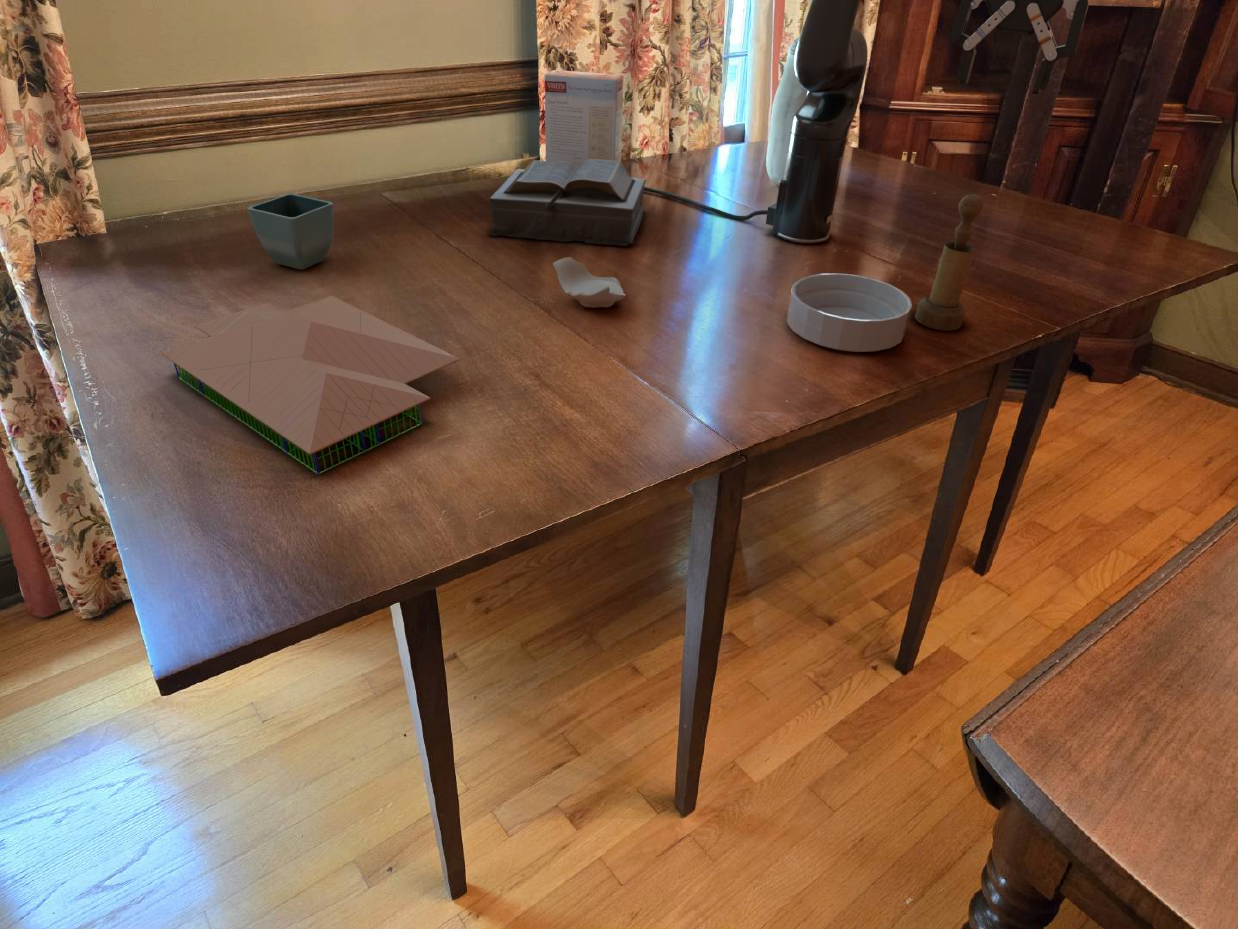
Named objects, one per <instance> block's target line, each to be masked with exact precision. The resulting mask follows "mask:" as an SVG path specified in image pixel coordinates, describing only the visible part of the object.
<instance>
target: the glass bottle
mask: <svg viewBox="0 0 1238 929" xmlns="http://www.w3.org/2000/svg"><path fill="white" fill-rule="evenodd" d="M799 37H800V36H798V37H797V38H796V39H794V41H792V43H791V44H790V46H789V49H788V51H787V57H786V62H785V65H784V69H783V72H782V76H781V79H780V82H779V84H778V86H777V89H776V92H775V95H774V98H773V102H772V108H771V116H770V123H769V132H768V133H769V134H768V139H767V148H766V157H765V166H766V171H767V175H768V177H769V179H770V181H771V182H772V183H773V184H775V185H777V186H779V183H780V180H781V179H782V178H784V174H785V168H786V161H787V154H788V148H789V141H790V134H791V127H792V121H793V117H794V115H795V113H796V112H797V110H798V109H799V108H800V107H801V105H802V103H803V102H804V100H805V97H806V95H807V90H805V89H804V88H803V87H802V86H801V85H800V84H799V82H798V80H797V78H796V75H795V71H794V56H795V51H796V47H797V44H798V40H799Z"/></svg>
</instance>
